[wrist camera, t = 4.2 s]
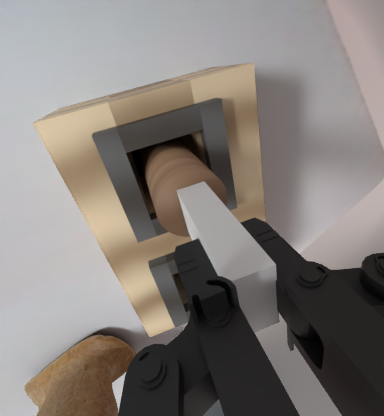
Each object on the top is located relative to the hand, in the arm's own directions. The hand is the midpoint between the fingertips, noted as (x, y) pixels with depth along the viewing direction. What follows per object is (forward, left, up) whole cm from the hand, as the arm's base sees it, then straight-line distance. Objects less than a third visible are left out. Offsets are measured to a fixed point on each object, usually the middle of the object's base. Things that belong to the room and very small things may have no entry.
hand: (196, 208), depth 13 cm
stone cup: (+26, -20, -14) cm, 36 cm away
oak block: (+5, 0, -14) cm, 15 cm away
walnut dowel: (0, 0, -9) cm, 9 cm away
